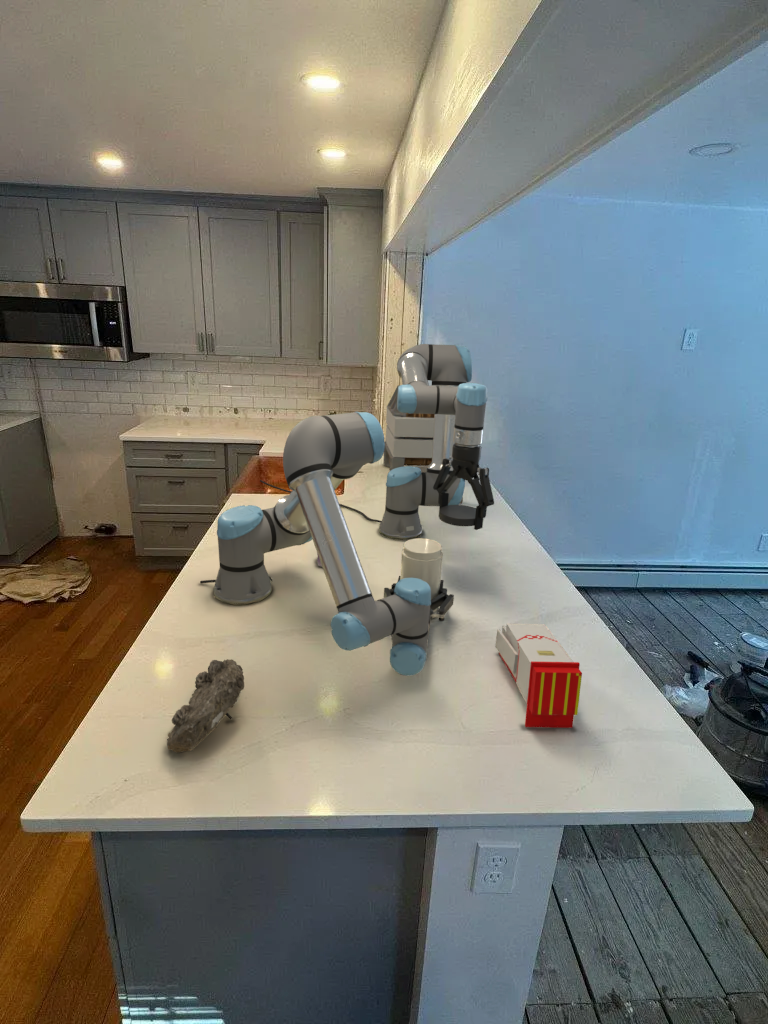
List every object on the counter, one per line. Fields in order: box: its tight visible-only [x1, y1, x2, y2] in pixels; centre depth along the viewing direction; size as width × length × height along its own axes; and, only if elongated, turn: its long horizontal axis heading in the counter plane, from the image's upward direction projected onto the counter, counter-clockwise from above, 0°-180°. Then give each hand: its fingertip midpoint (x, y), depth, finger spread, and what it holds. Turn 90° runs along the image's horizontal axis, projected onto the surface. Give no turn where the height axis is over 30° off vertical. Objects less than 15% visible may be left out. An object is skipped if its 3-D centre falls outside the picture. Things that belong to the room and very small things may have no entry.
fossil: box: [166, 658, 245, 754], centre depth 106 cm, size 22×10×15 cm
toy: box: [494, 623, 583, 729], centre depth 120 cm, size 12×13×30 cm
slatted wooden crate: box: [383, 384, 435, 472], centre depth 268 cm, size 34×33×41 cm
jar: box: [399, 537, 444, 619], centre depth 147 cm, size 10×10×19 cm
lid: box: [438, 504, 476, 527], centre depth 155 cm, size 12×12×2 cm
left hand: (420, 582), depth 151 cm, fingers closed on jar, 10 cm apart
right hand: (460, 522), depth 155 cm, fingers closed on lid, 12 cm apart
